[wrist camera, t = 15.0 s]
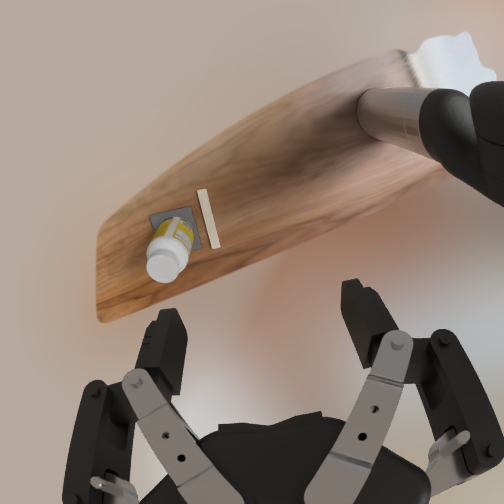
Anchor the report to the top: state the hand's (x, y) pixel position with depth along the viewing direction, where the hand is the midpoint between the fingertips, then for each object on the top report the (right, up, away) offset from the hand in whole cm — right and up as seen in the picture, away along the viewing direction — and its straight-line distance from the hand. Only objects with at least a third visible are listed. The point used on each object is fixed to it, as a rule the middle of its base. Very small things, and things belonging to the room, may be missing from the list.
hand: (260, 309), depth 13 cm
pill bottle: (-13, +6, +34) cm, 37 cm away
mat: (-14, +6, +34) cm, 37 cm away
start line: (-8, +8, +33) cm, 35 cm away
